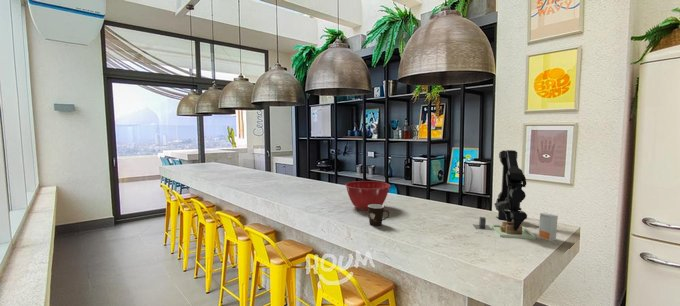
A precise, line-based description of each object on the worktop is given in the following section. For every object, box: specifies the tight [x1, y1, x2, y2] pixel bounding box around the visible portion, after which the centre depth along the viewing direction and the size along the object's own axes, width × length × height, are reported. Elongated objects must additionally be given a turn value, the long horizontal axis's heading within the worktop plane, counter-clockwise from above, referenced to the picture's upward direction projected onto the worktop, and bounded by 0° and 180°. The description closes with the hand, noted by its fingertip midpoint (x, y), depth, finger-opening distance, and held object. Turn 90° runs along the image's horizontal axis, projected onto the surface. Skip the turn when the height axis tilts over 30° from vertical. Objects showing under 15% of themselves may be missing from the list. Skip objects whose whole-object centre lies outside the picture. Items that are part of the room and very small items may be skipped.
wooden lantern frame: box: [499, 221, 522, 235], centre depth 161 cm, size 9×7×4 cm
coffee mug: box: [367, 204, 390, 227], centre depth 171 cm, size 12×9×10 cm
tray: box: [489, 223, 537, 240], centre depth 161 cm, size 16×16×2 cm
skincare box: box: [537, 212, 559, 242], centre depth 153 cm, size 6×4×12 cm
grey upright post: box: [472, 216, 493, 231], centre depth 169 cm, size 8×8×6 cm
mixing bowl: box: [345, 180, 391, 211], centre depth 207 cm, size 28×28×16 cm
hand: (512, 227), depth 161 cm, fingers open, 9 cm apart
